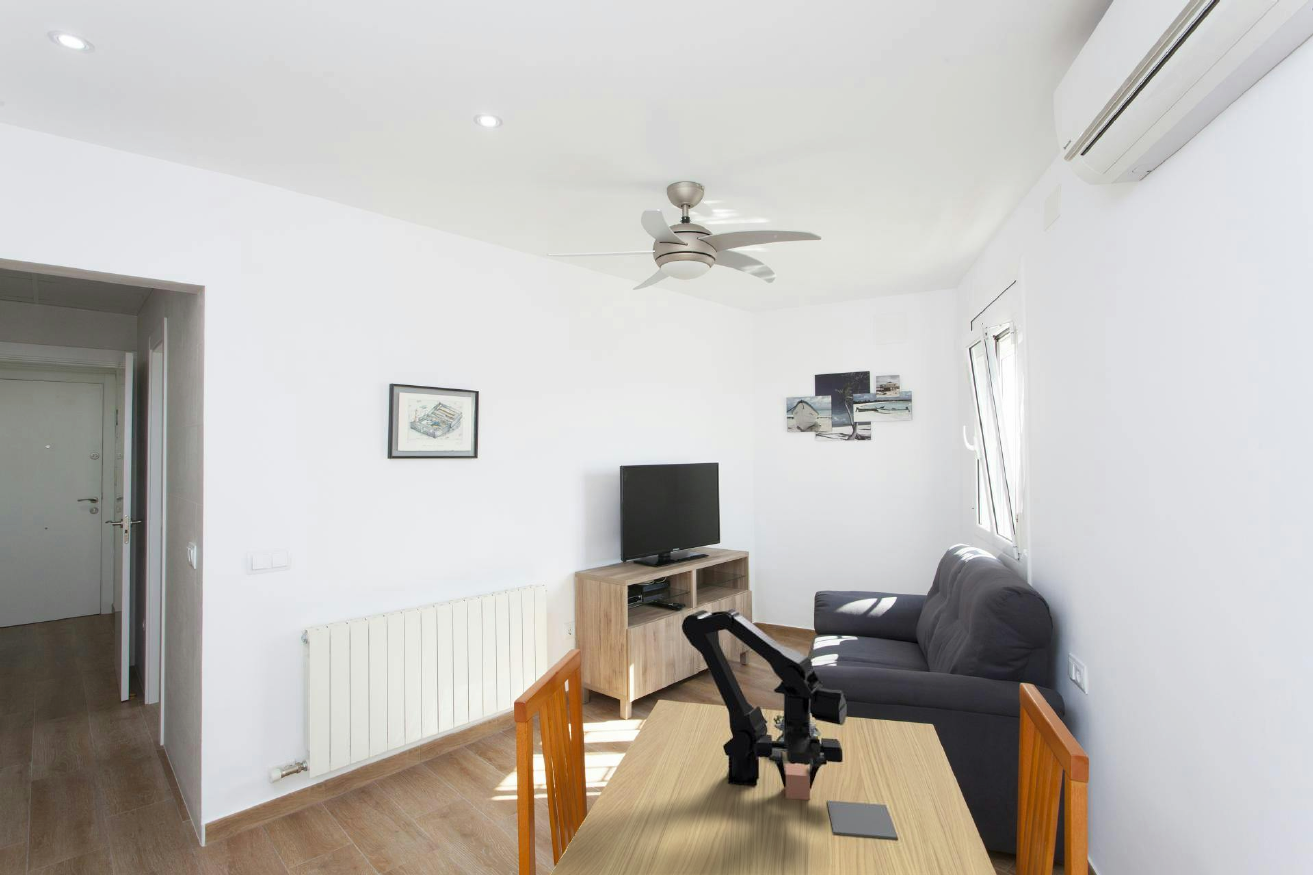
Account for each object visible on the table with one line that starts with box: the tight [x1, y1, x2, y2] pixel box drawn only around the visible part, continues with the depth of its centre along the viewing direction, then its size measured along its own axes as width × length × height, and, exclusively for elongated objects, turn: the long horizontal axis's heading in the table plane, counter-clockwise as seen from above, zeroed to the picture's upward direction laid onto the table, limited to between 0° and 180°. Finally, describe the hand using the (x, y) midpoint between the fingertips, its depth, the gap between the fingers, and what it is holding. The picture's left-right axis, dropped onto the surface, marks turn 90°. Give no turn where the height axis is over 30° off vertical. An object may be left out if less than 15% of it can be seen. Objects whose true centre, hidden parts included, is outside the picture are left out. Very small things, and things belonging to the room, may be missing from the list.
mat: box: [826, 799, 899, 840], centre depth 133 cm, size 12×12×1 cm
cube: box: [784, 763, 811, 801], centre depth 144 cm, size 5×5×5 cm
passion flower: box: [773, 714, 822, 741], centre depth 166 cm, size 11×11×12 cm
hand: (797, 787), depth 144 cm, fingers closed on cube, 5 cm apart
